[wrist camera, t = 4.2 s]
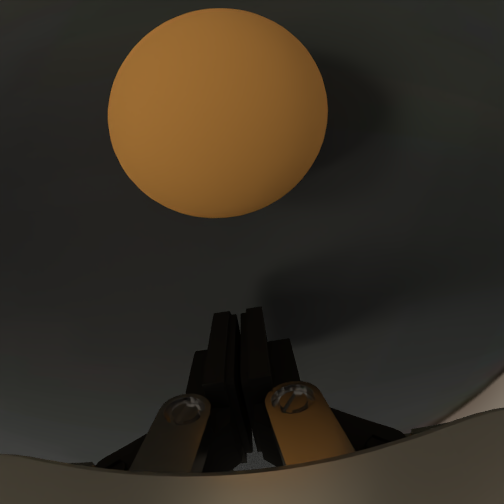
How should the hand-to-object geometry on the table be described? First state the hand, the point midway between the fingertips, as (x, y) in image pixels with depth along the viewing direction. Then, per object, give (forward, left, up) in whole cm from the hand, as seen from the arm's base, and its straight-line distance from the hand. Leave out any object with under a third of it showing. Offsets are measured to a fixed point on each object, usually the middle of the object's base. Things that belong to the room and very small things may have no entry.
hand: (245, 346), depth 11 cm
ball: (+1, +8, +1) cm, 8 cm away
